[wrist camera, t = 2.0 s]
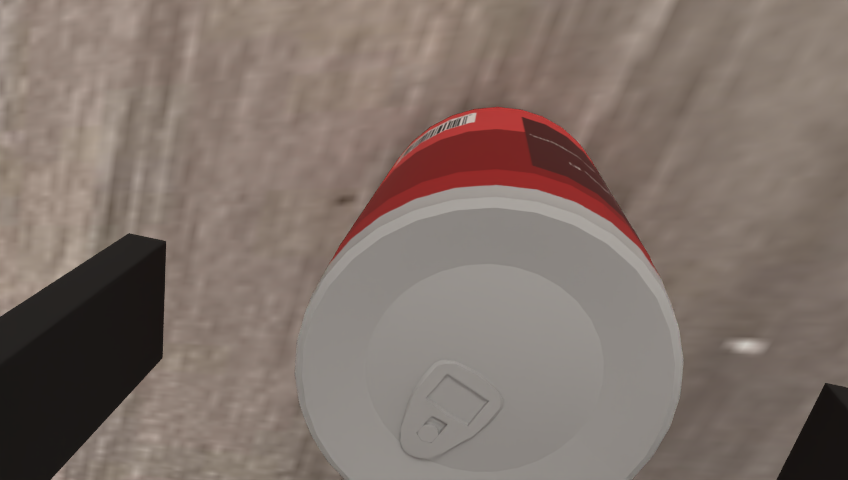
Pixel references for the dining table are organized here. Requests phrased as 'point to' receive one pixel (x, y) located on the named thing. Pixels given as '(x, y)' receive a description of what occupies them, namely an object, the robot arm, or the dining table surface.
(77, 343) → the robot arm
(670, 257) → the dining table surface
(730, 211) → the dining table surface
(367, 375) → the canned food
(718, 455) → the dining table surface
